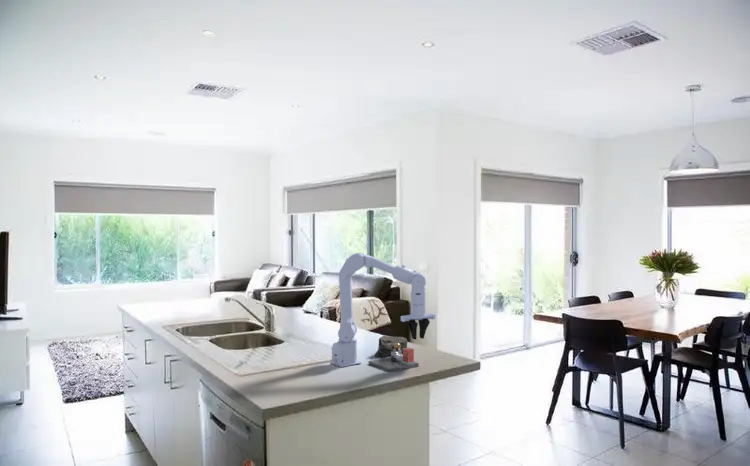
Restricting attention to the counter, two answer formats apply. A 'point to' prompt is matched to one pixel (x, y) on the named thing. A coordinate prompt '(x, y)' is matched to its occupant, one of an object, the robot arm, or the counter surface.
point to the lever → (404, 355)
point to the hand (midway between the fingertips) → (418, 338)
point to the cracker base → (393, 362)
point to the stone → (389, 345)
